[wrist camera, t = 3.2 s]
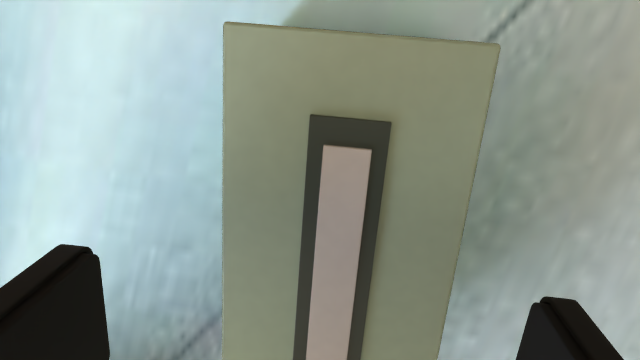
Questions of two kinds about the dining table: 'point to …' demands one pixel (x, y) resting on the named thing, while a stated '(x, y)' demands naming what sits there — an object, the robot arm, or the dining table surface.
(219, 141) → the dining table surface
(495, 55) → the tissue box
